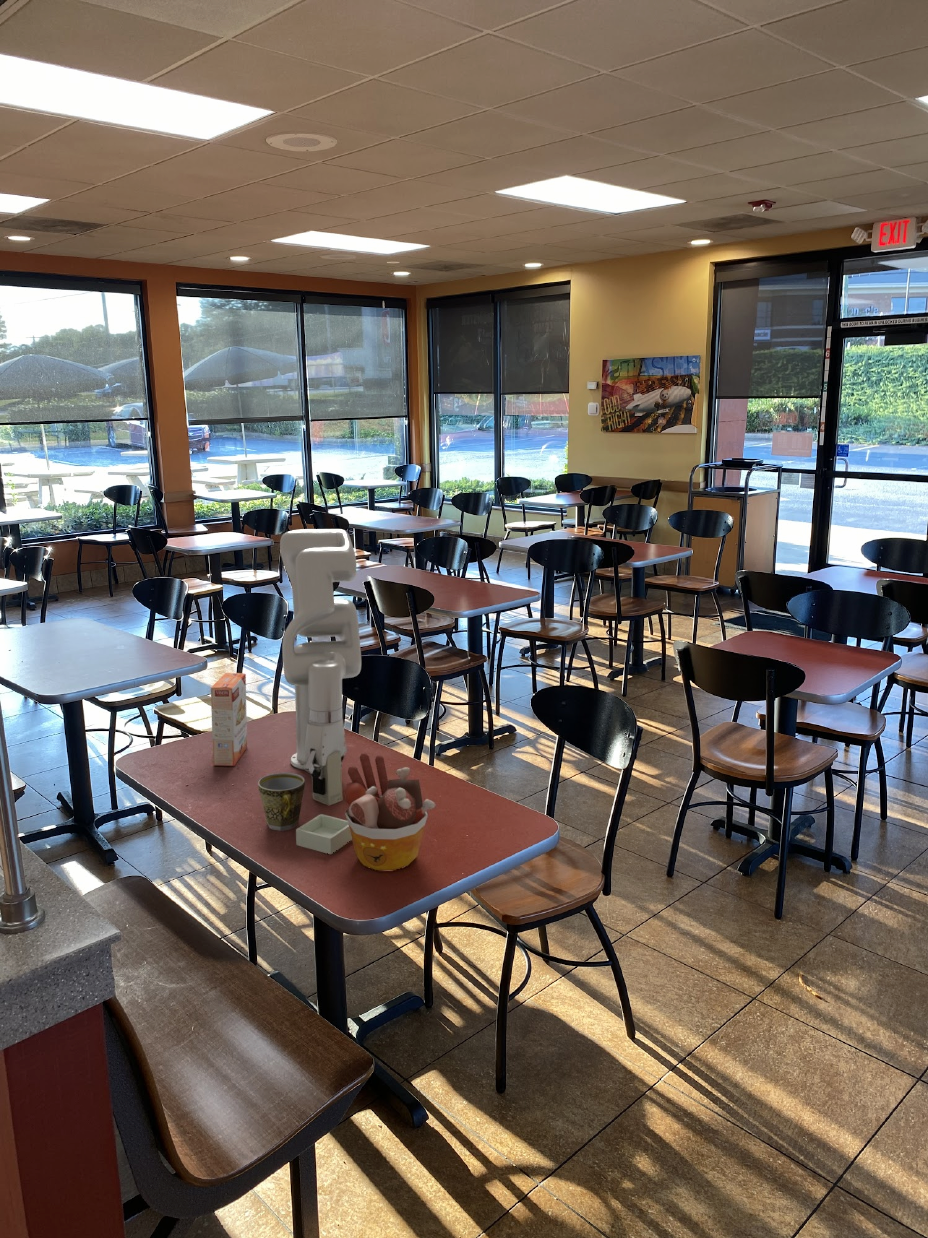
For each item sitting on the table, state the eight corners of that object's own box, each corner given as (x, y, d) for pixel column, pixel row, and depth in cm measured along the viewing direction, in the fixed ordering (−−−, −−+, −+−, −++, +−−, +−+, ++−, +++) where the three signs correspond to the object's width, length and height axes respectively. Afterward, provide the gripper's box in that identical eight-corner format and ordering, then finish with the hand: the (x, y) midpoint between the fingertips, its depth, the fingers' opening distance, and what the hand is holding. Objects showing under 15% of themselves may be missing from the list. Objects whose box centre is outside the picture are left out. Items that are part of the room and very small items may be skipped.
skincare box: (343, 801, 214) (342, 751, 212) (328, 806, 211) (327, 756, 209) (325, 793, 219) (325, 744, 216) (310, 798, 215) (309, 749, 213)
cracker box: (236, 767, 233) (233, 687, 229) (212, 766, 234) (208, 687, 229) (249, 747, 247) (246, 672, 243) (226, 747, 247) (223, 671, 243)
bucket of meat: (446, 868, 184) (447, 774, 179) (373, 890, 175) (372, 792, 170) (396, 830, 200) (396, 743, 196) (327, 848, 191) (325, 757, 187)
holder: (321, 829, 200) (321, 814, 199) (354, 837, 196) (354, 822, 195) (296, 845, 192) (296, 829, 192) (330, 854, 188) (330, 838, 188)
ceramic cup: (255, 818, 204) (253, 776, 202) (300, 811, 208) (299, 770, 206) (267, 843, 193) (266, 798, 191) (314, 835, 197) (313, 791, 195)
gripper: (334, 701, 219) (335, 773, 223) (288, 722, 205) (290, 798, 209) (360, 706, 216) (361, 779, 220) (316, 728, 201) (318, 805, 205)
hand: (326, 788), depth 214 cm, fingers closed on skincare box, 5 cm apart
